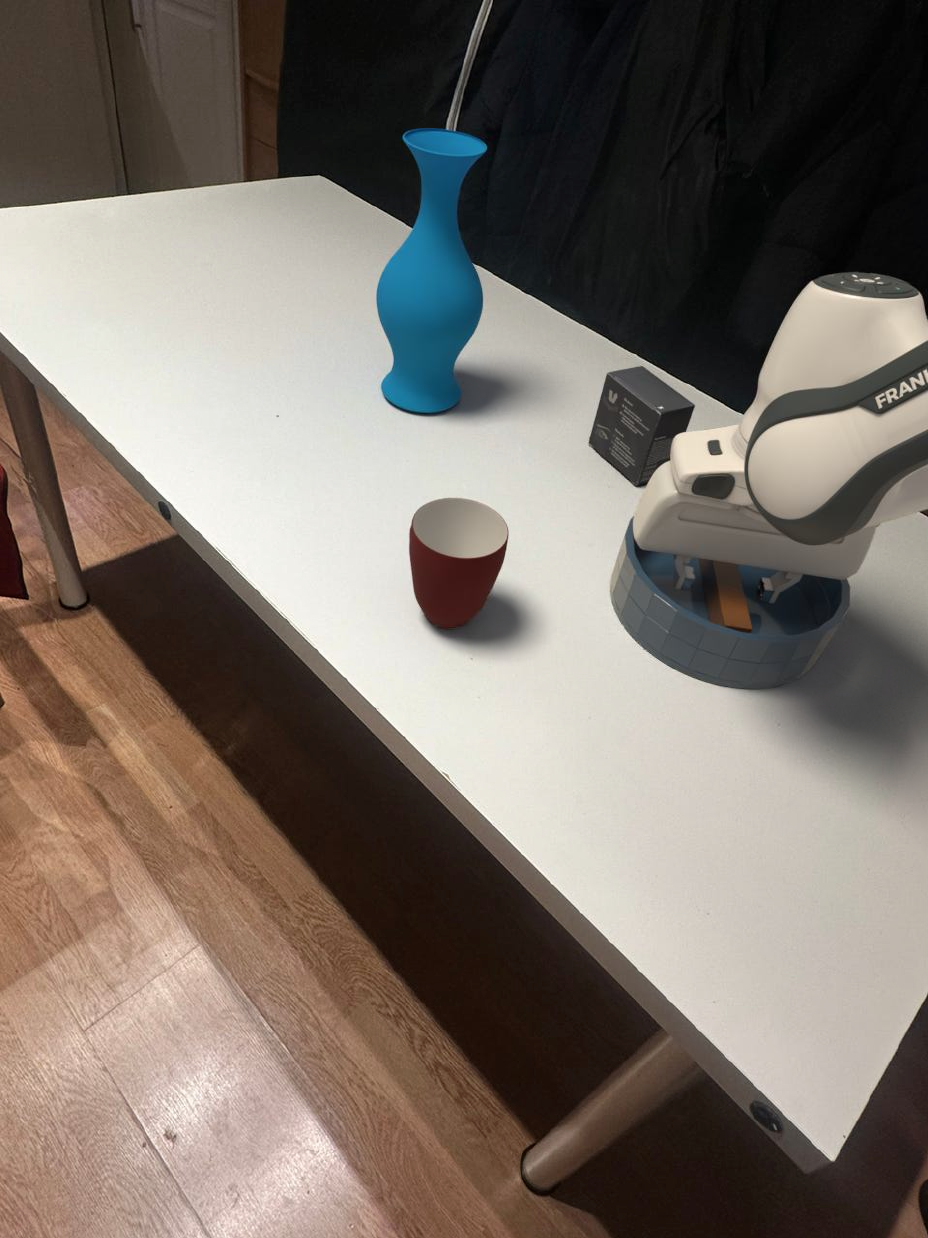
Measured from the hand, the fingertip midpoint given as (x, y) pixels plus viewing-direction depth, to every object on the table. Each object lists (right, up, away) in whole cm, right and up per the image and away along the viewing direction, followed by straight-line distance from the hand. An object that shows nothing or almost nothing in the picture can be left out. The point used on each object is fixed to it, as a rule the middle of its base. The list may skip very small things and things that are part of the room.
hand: (722, 592), depth 78 cm
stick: (0, -1, +1) cm, 1 cm away
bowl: (0, -1, +1) cm, 2 cm away
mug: (-27, -2, -3) cm, 27 cm away
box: (-5, +16, +18) cm, 25 cm away
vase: (-30, +25, +23) cm, 45 cm away
